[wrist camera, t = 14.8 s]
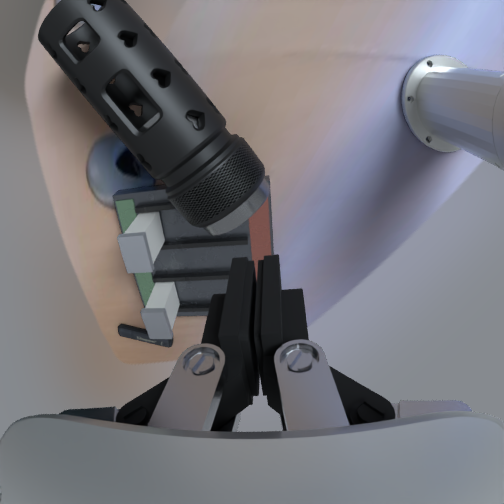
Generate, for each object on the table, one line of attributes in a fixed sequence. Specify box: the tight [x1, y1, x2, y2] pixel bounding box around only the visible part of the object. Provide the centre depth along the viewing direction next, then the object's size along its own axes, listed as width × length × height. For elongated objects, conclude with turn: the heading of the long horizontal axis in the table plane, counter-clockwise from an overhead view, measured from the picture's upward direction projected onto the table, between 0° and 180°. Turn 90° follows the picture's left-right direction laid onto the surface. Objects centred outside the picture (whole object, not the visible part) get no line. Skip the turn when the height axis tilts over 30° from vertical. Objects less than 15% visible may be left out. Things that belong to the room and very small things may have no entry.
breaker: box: [117, 211, 165, 273], centre depth 36 cm, size 3×4×7 cm
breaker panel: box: [113, 176, 274, 316], centre depth 41 cm, size 19×19×3 cm
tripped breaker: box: [140, 282, 180, 339], centre depth 40 cm, size 3×4×7 cm
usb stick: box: [118, 324, 173, 347], centre depth 51 cm, size 10×3×2 cm, turn 77°
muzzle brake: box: [38, 0, 270, 236], centre depth 28 cm, size 10×28×10 cm, turn 35°
